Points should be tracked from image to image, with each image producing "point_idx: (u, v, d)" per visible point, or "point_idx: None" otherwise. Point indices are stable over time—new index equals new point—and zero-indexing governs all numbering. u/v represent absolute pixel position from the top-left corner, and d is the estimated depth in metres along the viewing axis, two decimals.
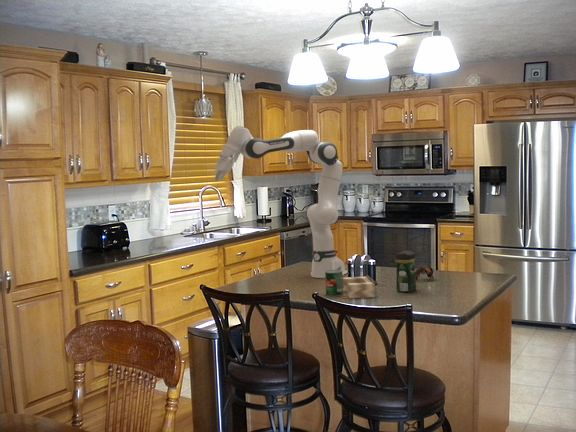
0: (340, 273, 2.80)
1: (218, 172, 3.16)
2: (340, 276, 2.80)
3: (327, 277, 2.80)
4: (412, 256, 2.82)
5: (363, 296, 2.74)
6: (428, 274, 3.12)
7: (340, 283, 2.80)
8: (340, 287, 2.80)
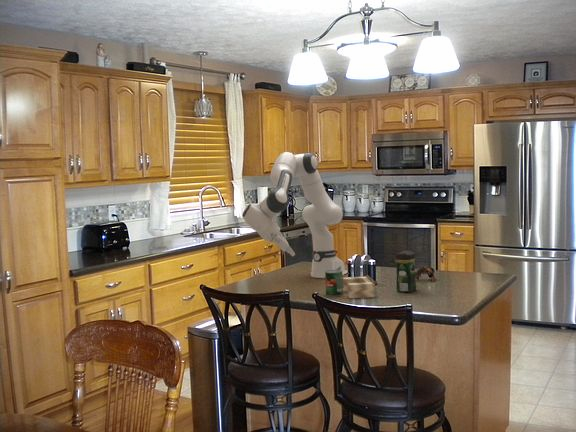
0: (340, 273, 2.80)
1: None
2: (340, 276, 2.80)
3: (327, 277, 2.80)
4: (412, 256, 2.82)
5: (363, 296, 2.74)
6: (429, 274, 3.11)
7: (340, 283, 2.80)
8: (340, 287, 2.80)
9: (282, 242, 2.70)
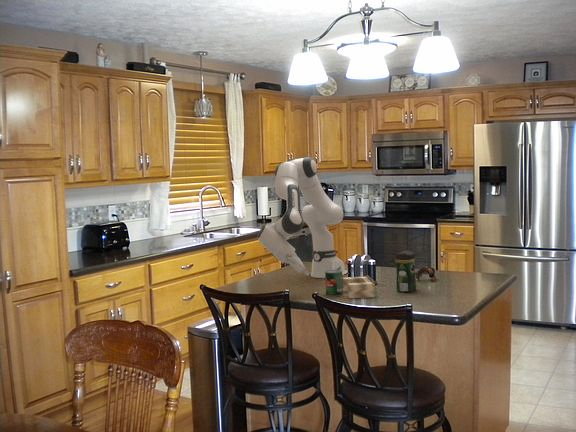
0: (340, 273, 2.80)
1: None
2: (340, 276, 2.80)
3: (327, 277, 2.80)
4: (412, 256, 2.82)
5: (363, 296, 2.74)
6: (430, 274, 3.10)
7: (340, 283, 2.80)
8: (340, 287, 2.80)
9: (297, 263, 2.71)
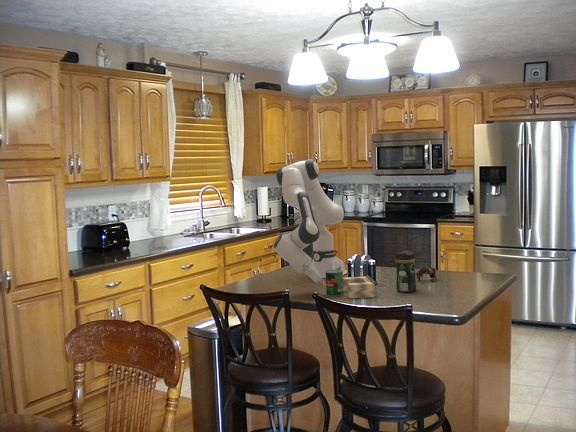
0: (340, 273, 2.80)
1: None
2: (340, 276, 2.80)
3: (327, 277, 2.80)
4: (412, 256, 2.82)
5: (363, 296, 2.74)
6: (430, 274, 3.10)
7: (340, 283, 2.80)
8: (340, 287, 2.80)
9: (314, 273, 2.72)
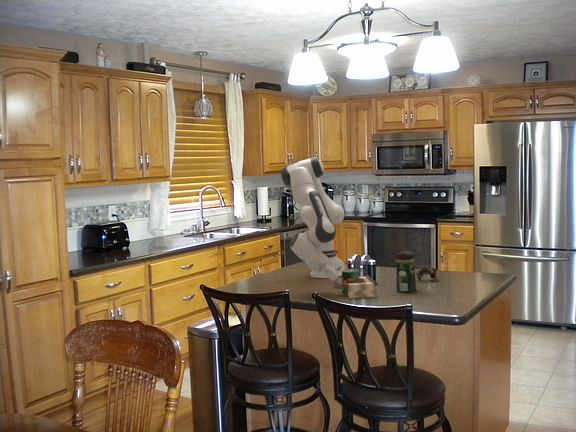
0: (357, 272, 2.80)
1: None
2: (357, 275, 2.80)
3: (344, 276, 2.80)
4: (412, 256, 2.82)
5: (363, 296, 2.74)
6: (431, 275, 3.09)
7: (357, 282, 2.80)
8: None
9: (331, 272, 2.72)
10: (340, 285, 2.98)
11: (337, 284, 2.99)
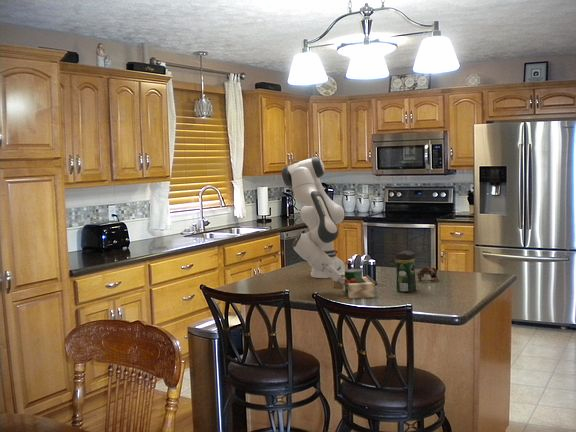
0: (360, 272, 2.80)
1: None
2: (360, 275, 2.80)
3: (347, 276, 2.80)
4: (412, 256, 2.82)
5: (363, 296, 2.74)
6: (432, 275, 3.09)
7: (360, 282, 2.80)
8: None
9: (334, 272, 2.72)
10: (340, 285, 2.98)
11: (337, 284, 2.99)
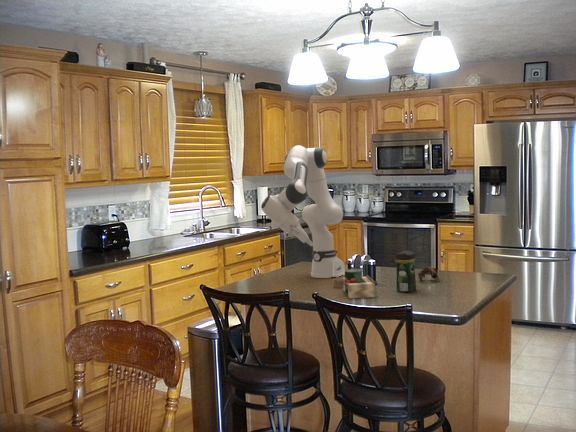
0: (360, 272, 2.80)
1: None
2: (360, 275, 2.80)
3: (347, 276, 2.80)
4: (412, 256, 2.82)
5: (363, 296, 2.74)
6: (433, 275, 3.08)
7: (360, 282, 2.80)
8: None
9: (302, 233, 2.71)
10: (340, 285, 2.98)
11: (337, 284, 2.99)
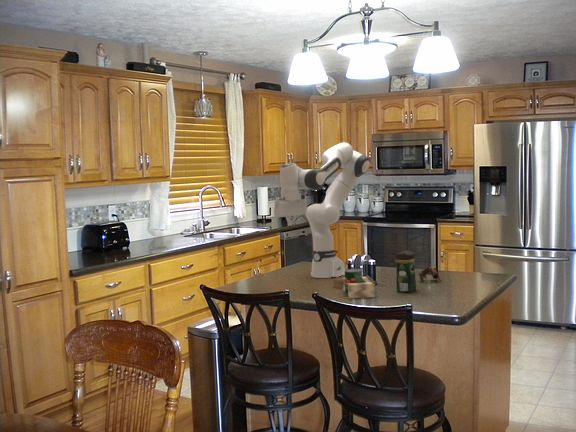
0: (360, 272, 2.80)
1: (291, 216, 3.01)
2: (360, 275, 2.80)
3: (347, 276, 2.80)
4: (412, 256, 2.82)
5: (363, 296, 2.74)
6: (433, 275, 3.08)
7: (360, 282, 2.80)
8: None
9: (277, 209, 2.92)
10: (340, 285, 2.98)
11: (337, 284, 2.99)
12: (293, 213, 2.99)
